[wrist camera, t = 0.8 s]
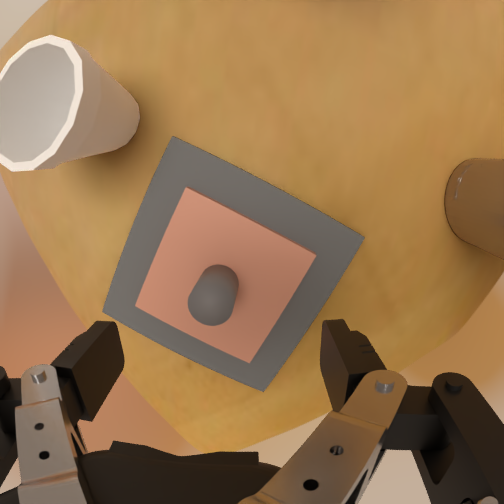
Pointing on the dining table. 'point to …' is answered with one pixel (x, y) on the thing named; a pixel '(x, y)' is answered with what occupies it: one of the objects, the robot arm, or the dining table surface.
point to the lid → (222, 275)
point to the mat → (255, 207)
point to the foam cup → (60, 107)
